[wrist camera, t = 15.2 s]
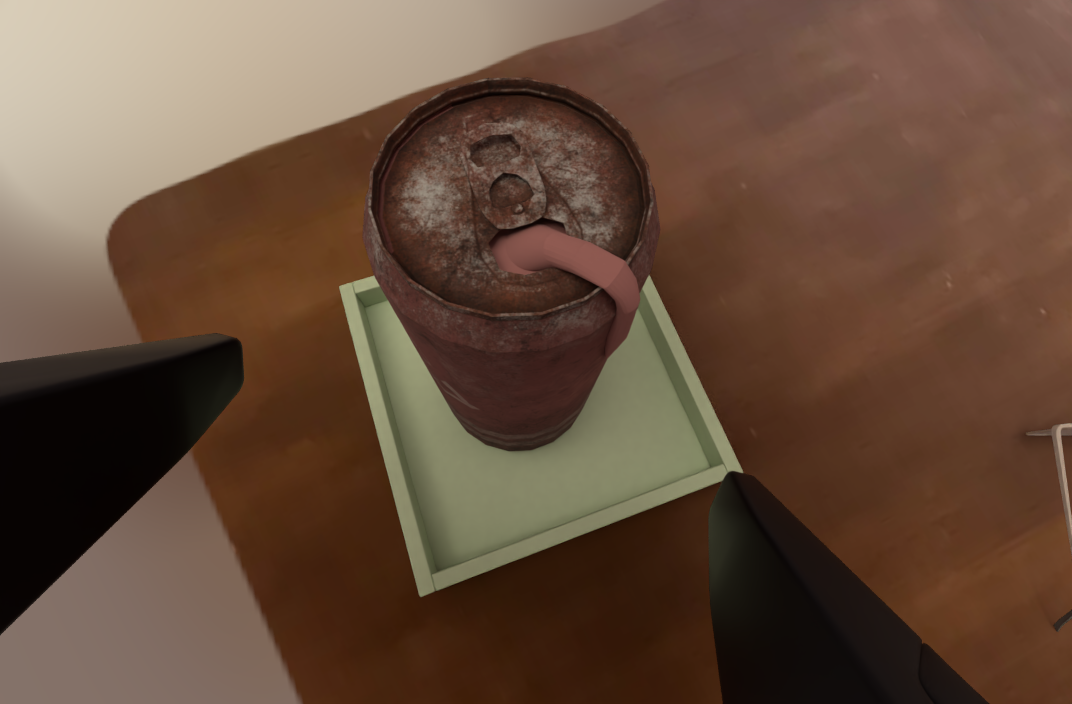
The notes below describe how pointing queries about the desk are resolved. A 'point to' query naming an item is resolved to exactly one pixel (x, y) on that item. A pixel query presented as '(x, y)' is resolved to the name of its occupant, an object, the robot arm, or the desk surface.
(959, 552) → the desk surface
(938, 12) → the desk surface
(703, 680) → the desk surface
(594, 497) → the tray
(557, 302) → the can
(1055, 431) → the eyeglasses
